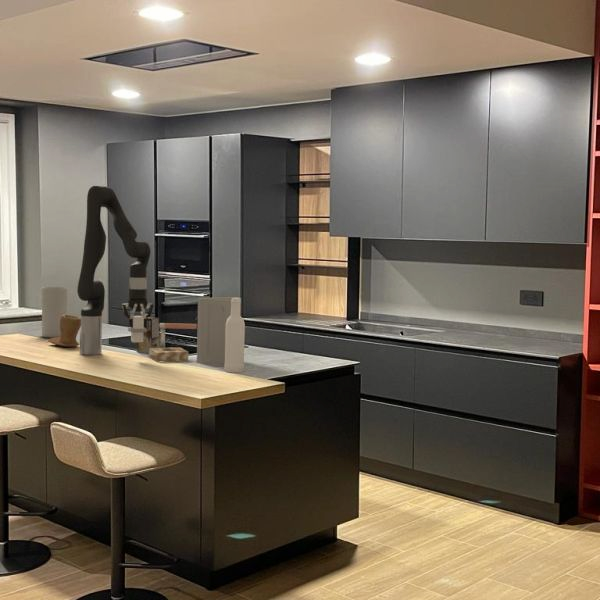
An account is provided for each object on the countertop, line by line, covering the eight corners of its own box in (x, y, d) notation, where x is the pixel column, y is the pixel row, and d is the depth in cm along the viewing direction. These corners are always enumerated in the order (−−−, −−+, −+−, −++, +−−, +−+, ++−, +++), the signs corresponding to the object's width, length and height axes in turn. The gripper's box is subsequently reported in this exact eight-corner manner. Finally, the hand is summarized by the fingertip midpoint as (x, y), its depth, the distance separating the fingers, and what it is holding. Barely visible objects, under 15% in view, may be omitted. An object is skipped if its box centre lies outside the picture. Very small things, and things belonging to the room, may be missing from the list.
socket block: (156, 361, 367) (156, 352, 367) (149, 357, 380) (149, 348, 380) (188, 360, 373) (188, 351, 373) (179, 356, 386) (179, 347, 385)
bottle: (233, 368, 355) (235, 297, 353) (247, 371, 350) (249, 298, 348) (220, 370, 349) (222, 297, 347) (234, 373, 344) (236, 299, 342)
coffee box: (160, 352, 396) (160, 317, 395) (151, 353, 390) (152, 318, 389) (144, 350, 400) (145, 316, 399) (135, 352, 394) (136, 317, 393)
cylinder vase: (36, 336, 436) (37, 288, 434) (50, 334, 448) (51, 286, 446) (58, 338, 433) (58, 289, 431) (71, 335, 445) (72, 287, 443)
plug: (131, 342, 366) (131, 317, 365) (127, 340, 372) (128, 315, 371) (146, 342, 369) (146, 317, 368) (143, 340, 375) (143, 315, 374)
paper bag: (211, 367, 357) (213, 300, 355) (196, 362, 370) (197, 297, 368) (251, 364, 368) (253, 299, 366) (234, 359, 380) (236, 297, 378)
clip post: (158, 356, 383) (158, 329, 382) (155, 354, 388) (156, 328, 387) (169, 355, 385) (169, 329, 384) (166, 354, 390) (166, 327, 389)
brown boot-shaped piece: (86, 347, 406) (86, 315, 405) (63, 348, 397) (63, 316, 396) (69, 343, 417) (70, 312, 415) (47, 345, 408) (47, 313, 407)
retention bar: (196, 329, 385) (196, 324, 385) (159, 328, 384) (159, 323, 384) (196, 328, 388) (196, 323, 388) (159, 327, 387) (159, 323, 387)
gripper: (123, 288, 362) (122, 328, 364) (156, 288, 368) (155, 328, 369) (119, 287, 369) (119, 326, 371) (152, 287, 375) (151, 326, 376)
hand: (137, 327), depth 370 cm, fingers closed on plug, 4 cm apart
